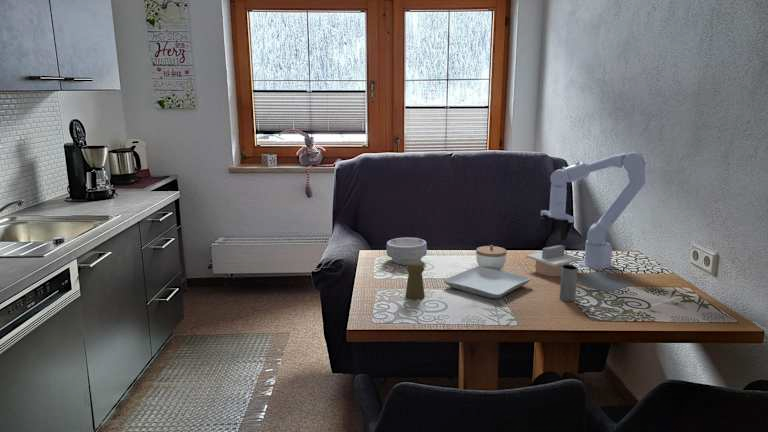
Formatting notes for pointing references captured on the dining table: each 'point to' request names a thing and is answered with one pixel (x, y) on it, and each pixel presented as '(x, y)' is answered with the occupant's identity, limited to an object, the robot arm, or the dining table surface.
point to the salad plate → (487, 282)
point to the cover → (553, 256)
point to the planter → (568, 283)
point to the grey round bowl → (406, 250)
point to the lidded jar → (491, 257)
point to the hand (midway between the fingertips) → (555, 237)
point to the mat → (603, 281)
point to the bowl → (548, 269)
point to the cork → (415, 281)
